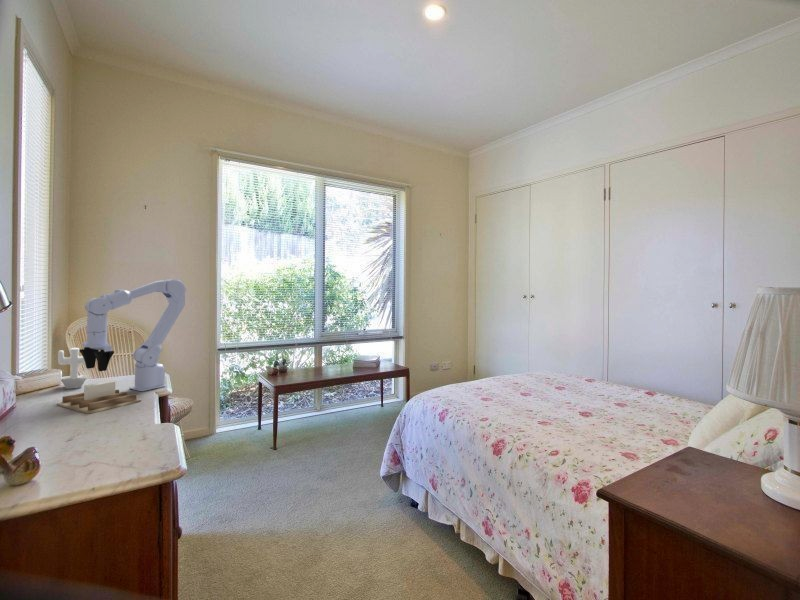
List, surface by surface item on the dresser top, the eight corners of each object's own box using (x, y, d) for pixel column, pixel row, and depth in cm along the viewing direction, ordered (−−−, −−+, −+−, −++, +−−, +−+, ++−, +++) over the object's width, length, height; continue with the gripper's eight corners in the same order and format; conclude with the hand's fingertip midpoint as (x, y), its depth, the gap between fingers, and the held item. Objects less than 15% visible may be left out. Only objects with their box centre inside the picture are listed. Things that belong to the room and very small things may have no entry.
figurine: (89, 387, 148) (90, 348, 148) (57, 390, 143) (57, 350, 142) (89, 383, 154) (90, 345, 154) (58, 386, 148) (58, 347, 148)
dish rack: (110, 393, 141) (110, 386, 141) (141, 401, 134) (141, 393, 134) (57, 404, 127) (57, 396, 127) (87, 414, 119) (87, 405, 119)
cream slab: (110, 397, 134) (111, 380, 134) (115, 399, 133) (115, 381, 133) (84, 403, 127) (84, 385, 127) (88, 404, 126) (88, 386, 126)
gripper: (72, 330, 137) (72, 368, 138) (95, 334, 131) (95, 374, 131) (95, 329, 144) (94, 365, 144) (118, 332, 137) (117, 370, 138)
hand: (96, 369), depth 138 cm, fingers open, 7 cm apart
